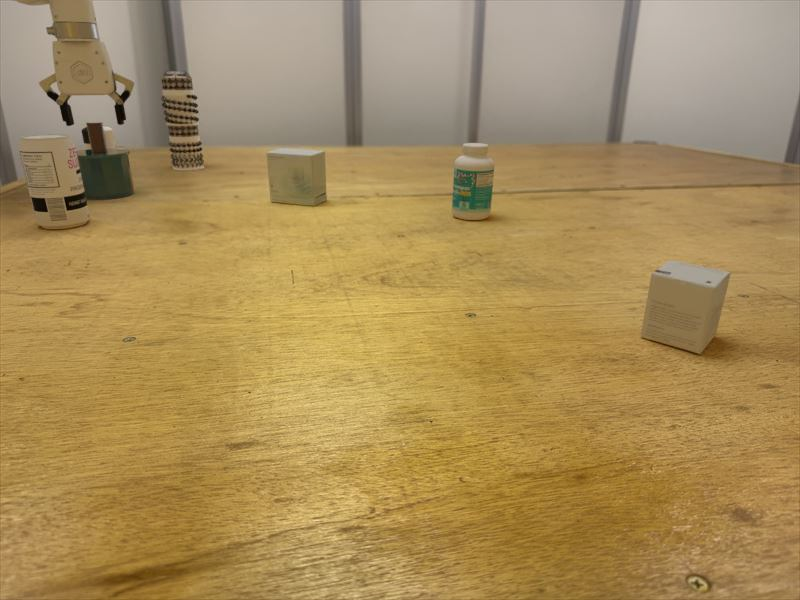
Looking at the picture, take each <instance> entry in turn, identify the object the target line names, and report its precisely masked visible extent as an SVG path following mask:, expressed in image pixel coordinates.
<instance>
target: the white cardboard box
mask: <svg viewBox="0 0 800 600" xmlns="http://www.w3.org/2000/svg"><path fill="white" fill-rule="evenodd" d="M730 279H731V272H730V271H727V270H721V269H717V268H711V267H706V266H701V265H698V264H697V265H696V264H693V263H687V262H683V261H678V260H673V259H670V260H668V261H667V262H665V263H664V264H663V265H661V266H660V267H659V268H658V269H656V270H654V271H652V272H651V275H650V280H649V286H648V292H647V297H646V304H645V309H644V315H643V320H642V325H641V326H642V327H641V331H640V338H641V339H642V338H643V339H645V340H649V341H653V342H656V343H661V344H664V345H666V346H667V345H668V346H671V347H673V348H677V349H681V350H685V351H688V352H691V353H695V354H698V355H701V354H702V352H704V350H705V349H706V348H707V346H708V345H709V344H710V343H711V341H712V340H713V339H714V338H715V336H716V335H717V332H718V327H719V324H720V320H721V316H722V311H723V307H724V302H725V300H726V295H727V290H728V287H729V283H730Z"/></svg>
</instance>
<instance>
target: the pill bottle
mask: <svg viewBox="0 0 800 600" xmlns="http://www.w3.org/2000/svg"><path fill="white" fill-rule="evenodd" d="M462 153H463V154H462V155H460V156H458V157H457V158H456V159H455V160H454V163H453V164H454V165H453V180H452V181H453V183H452V200H451V201H452V203H451V214H452V216H453V217H455V218H456V219H459V220H465V221H482V220H486V219H488V218H489V217H490V216H491V212H492V200H493V188H494V176H495V161H494V160H493V159H492V158H491V157H489V156H488V155H487V154H488V153H489V144H487V143H480V142H469V143H468V142H467V143H465V142H464V143H463V144H462Z"/></svg>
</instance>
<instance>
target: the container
mask: <svg viewBox="0 0 800 600" xmlns="http://www.w3.org/2000/svg"><path fill="white" fill-rule="evenodd" d="M103 129H104V134H105V140H106V145H107V149H108V148H113V149H124V148H123V147H122V148H121V147H115V146H116V139H115V133H114V129H113V128H112V127H110V126H106V125H105V126H104V125H103ZM81 135H82V141H83V146H84V147H85V148H86V149H85V150H88V149H91V145H90V140H89V135H88V130H87V126H86V127H84V128H82V129H81Z"/></svg>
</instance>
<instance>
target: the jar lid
mask: <svg viewBox="0 0 800 600" xmlns="http://www.w3.org/2000/svg"><path fill="white" fill-rule="evenodd" d="M103 124H104V123H103V122H102V121H87V122H86V123H85V125H86V127H87V130H88V135H89V140H90V145H91V149H88V150H86V149H81V150H76V153H77V158H81V159H98V158H113V157H121V156H126V155H128V156H129V155H130V154H131V152H130V150H129V149H126V148H123V149H113V148H108V149H107V145H106V140H105V134H104V129H103V126H104V125H103Z"/></svg>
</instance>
